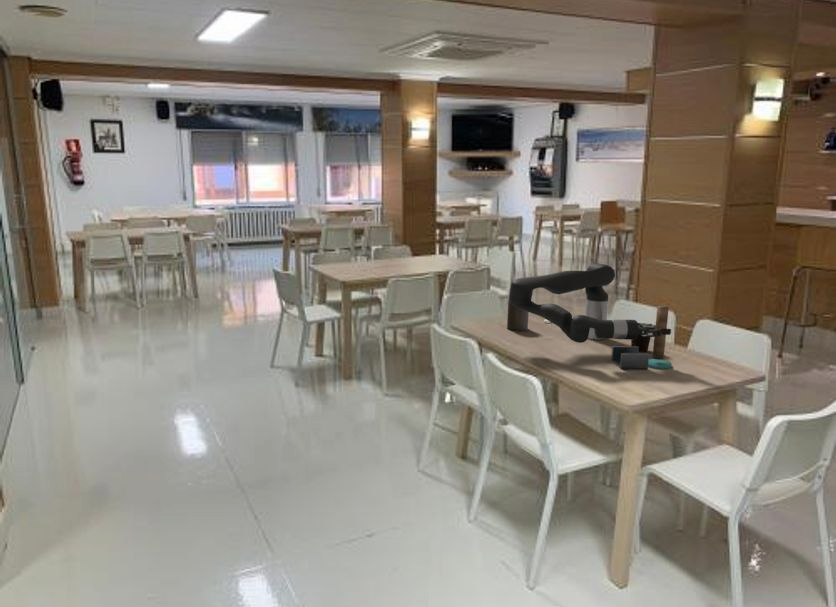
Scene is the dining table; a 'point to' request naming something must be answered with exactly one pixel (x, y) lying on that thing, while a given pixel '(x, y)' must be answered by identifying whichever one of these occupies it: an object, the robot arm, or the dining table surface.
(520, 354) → the dining table surface
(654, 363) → the teal mat
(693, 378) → the dining table surface
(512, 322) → the pillar candle
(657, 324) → the walnut dowel
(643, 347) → the coffee mug
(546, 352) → the dining table surface
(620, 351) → the metal channel
